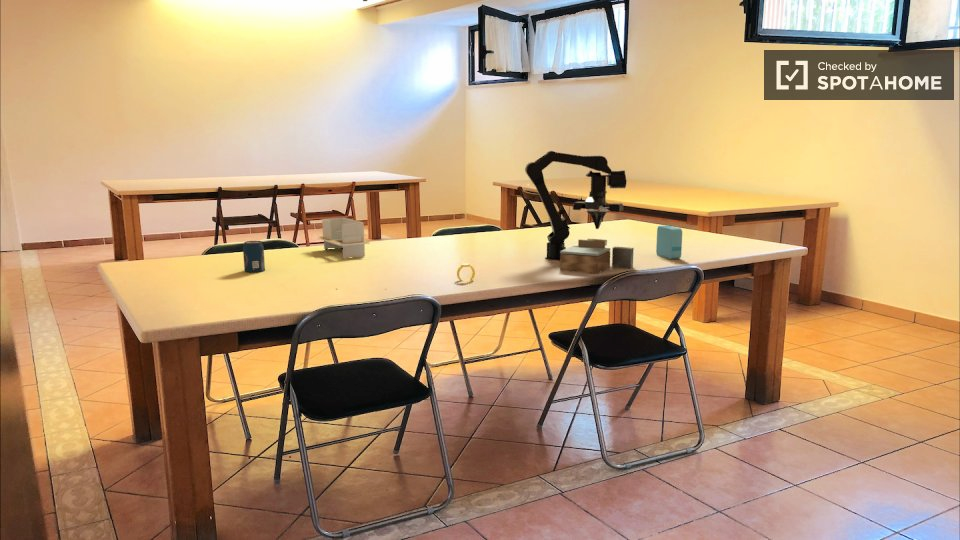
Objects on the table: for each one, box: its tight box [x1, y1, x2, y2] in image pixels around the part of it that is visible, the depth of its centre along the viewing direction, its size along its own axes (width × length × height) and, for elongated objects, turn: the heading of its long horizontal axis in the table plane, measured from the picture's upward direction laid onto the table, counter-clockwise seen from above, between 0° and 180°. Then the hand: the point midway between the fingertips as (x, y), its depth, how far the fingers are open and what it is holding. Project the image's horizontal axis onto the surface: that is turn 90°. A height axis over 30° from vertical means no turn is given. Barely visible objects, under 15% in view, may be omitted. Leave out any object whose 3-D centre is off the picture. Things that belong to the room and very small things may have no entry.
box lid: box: [560, 239, 611, 256], centre depth 263 cm, size 14×14×3 cm
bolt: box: [586, 238, 608, 247], centre depth 271 cm, size 7×2×2 cm, turn 62°
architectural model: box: [317, 217, 371, 259], centre depth 294 cm, size 26×13×15 cm, turn 31°
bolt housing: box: [611, 246, 635, 269], centre depth 267 cm, size 7×3×7 cm, turn 62°
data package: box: [655, 225, 683, 260], centre depth 287 cm, size 12×4×12 cm, turn 15°
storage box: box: [559, 250, 611, 275], centre depth 264 cm, size 14×14×6 cm
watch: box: [456, 263, 476, 282], centre depth 243 cm, size 6×3×6 cm, turn 113°
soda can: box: [242, 240, 266, 274], centre depth 255 cm, size 7×7×12 cm
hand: (597, 228), depth 282 cm, fingers closed
